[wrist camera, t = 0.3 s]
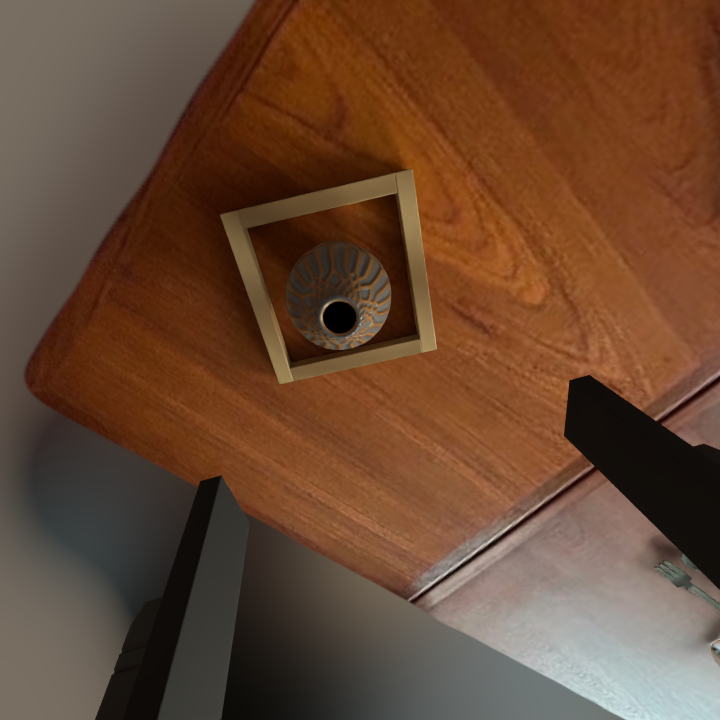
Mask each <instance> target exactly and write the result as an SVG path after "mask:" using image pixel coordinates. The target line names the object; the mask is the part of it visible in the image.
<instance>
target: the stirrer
mask: <svg viewBox="0 0 720 720" xmlns="http://www.w3.org/2000/svg"><path fill="white" fill-rule="evenodd" d="M711 652H712V655H713V658H714V660H715V661H716V663H717V664H718V665H719V666H720V640H718V641H715V642H714V643H713V644H712V646H711Z"/></svg>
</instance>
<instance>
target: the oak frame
mask: <svg viewBox="0 0 720 720" xmlns="http://www.w3.org/2000/svg"><path fill="white" fill-rule="evenodd" d="M390 194H395V197H396V203H397V209H398V216H399V222H400V228H401V235H402V241H403V248H404V254H405V260H406V267H407V273H408V280H409V286H410V292H411V299H412V305H413V311H414V318H415V324H416V331H417V334H416V335H411V336H407V337H402V338H398V339H393V340H389V341H384V342H380V343H376V344H371V345H367V346H362V347H358V348H353V349H349V350H344V351H340V352H336V353H331V354H327V355H322V356H318V357H313V358H309V359H304V360H300V361H296V362H292V363H291V361H290V358H289V355H288V352H287V349H286V346H285V343H284V340H283V337H282V333H281V330H280V327H279V324H278V321H277V318H276V315H275V312H274V309H273V306H272V303H271V300H270V297H269V294H268V291H267V288H266V285H265V281H264V278H263V275H262V272H261V269H260V266H259V263H258V260H257V257H256V254H255V251H254V248H253V245H252V242H251V239H250V236H249V232H248V229H247V228H251V227H255V226H259V225H263V224H268V223H272V222H276V221H280V220H285V219H289V218H293V217H297V216H302V215H306V214H310V213H314V212H318V211H323V210H327V209H331V208H335V207H340V206H344V205H348V204H352V203H357V202H361V201H365V200H369V199H374V198H378V197H382V196H386V195H390ZM220 217H221V220H222V222H223V225H224V228H225V231H226V234H227V237H228V239H229V242H230V245H231V248H232V251H233V254H234V257H235V259H236V262H237V265H238V268H239V271H240V274H241V276H242V279H243V282H244V285H245V288H246V291H247V293H248V296H249V299H250V302H251V305H252V308H253V311H254V313H255V316H256V319H257V322H258V325H259V328H260V330H261V333H262V336H263V339H264V342H265V345H266V347H267V350H268V353H269V356H270V359H271V362H272V365H273V367H274V370H275V373H276V376H277V379H278V382H279V384H283V383H287V382H292V381H297V380H301V379H305V378H310V377H314V376H319V375H323V374H328V373H332V372H337V371H341V370H346V369H350V368H355V367H359V366H364V365H368V364H373V363H377V362H382V361H386V360H391V359H395V358H399V357H404V356H408V355H413V354H417V353H422V352H426V351H430V350H435V349H437V347H436V340H435V333H434V325H433V318H432V310H431V303H430V295H429V288H428V280H427V273H426V266H425V258H424V251H423V243H422V236H421V228H420V221H419V214H418V206H417V199H416V191H415V184H414V176H413V170H412V169H408V170H404V171H400V172H396V173H391V174H387V175H383V176H379V177H375V178H370V179H366V180H362V181H358V182H354V183H349V184H345V185H341V186H337V187H333V188H328V189H324V190H320V191H316V192H312V193H307V194H303V195H299V196H295V197H290V198H286V199H282V200H278V201H274V202H269V203H265V204H261V205H257V206H253V207H248V208H244V209H240V210H236V211H232V212H227V213H223V214H220Z"/></svg>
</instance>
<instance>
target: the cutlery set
mask: <svg viewBox="0 0 720 720" xmlns="http://www.w3.org/2000/svg"><path fill="white" fill-rule="evenodd" d="M681 559H682V561H683V562H684V564H685V565H686V567H689V568H691V569H694V570H699V569H698V568H697V567H696V566H695V565H694V564H693V563H692V562H691V561H690V560H689V559H688V558H687V557H686V556H685V555H684V554H683V553H682V557H681ZM663 562H664V563H666V564H667V565H668V566H669V567H670V568H671V569H670V568H668V567H667V566H665V565H664V564H661V563H659V565H660V566H661V567H663V568H664V569H665V570H666V571H667V572H666V571H664V570H663V569H661V568H659V567H657V566H655V568H656V569H657V570H658V571H660V572H661V573H662V574H663V575H664V576H665V577H666V578H668V579H669V580H670V581H671V582H672V583H673V584H674V585H675V586H676V587H682V586H684V587H685V588H686V589H690V590H692V591H693V592H695V593H696V594H698V595H699V596H700V597H702V598H703V599H705V600H706V601H707V602H709V603H710V604H711V605H712V606H714V607H715V608H717V609H718V610H720V603H719V602H717V601H716V600H714V599H713V598H711V597H710V596H709V595H708V594H706V593H705V592H704V591H702V590H701V589H699V588H698V587H697V586H695V585H693V584H692V583H691V582H690V581H691V579H692V578H691V577H690V576H689V575H688V574H687V573H686V572H685V571H682V570H681V569H679V568H678V567H676V566H674V565H673V564H671V563H669V562H668V561H666V560H664V561H663Z"/></svg>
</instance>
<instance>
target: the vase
mask: <svg viewBox="0 0 720 720" xmlns="http://www.w3.org/2000/svg"><path fill="white" fill-rule="evenodd" d="M286 305H287V309H288V312H289V315H290V318H291V320H292V322H293V323H294V325H295V326H296V328H297V329H298V330H299V332H300V333H301V334H302V335H303V336H304V337H306V338H307V339H308V340H310V341H311V342H313V343H314V344H316V345H318V346H321V347H324V348H327V349H333V350H345V349H351V348H354V347H357V346H360V345H362V344H364V343H365V342H367V341H368V340H370V339H371V338H372V337H373V336H374V335H375V334H376V333H377V332H378V331H379V330H380V329H381V327H382V326H383V324H384V322H385V320H386V318H387V316H388V313H389V310H390V305H391V287H390V282H389V279H388V276H387V274H386V271H385V270H384V268H383V266H382V265H381V263H380V262H379V261H378V259H377V258H376V257H375V256H374V255H373V254H371V253H370V252H369V251H368V250H366V249H365V248H363V247H361V246H359V245H356V244H354V243H350V242H345V241H331V242H325V243H322V244H319V245H317V246H315V247H313V248H311V249H310V250H308V251H307V252H306V253H304V254H303V255H302V256H301V257H300V258H299V259H298V261H297V262H296V263H295V265H294V266H293V268H292V270H291V272H290V274H289V277H288V280H287V284H286Z"/></svg>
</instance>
